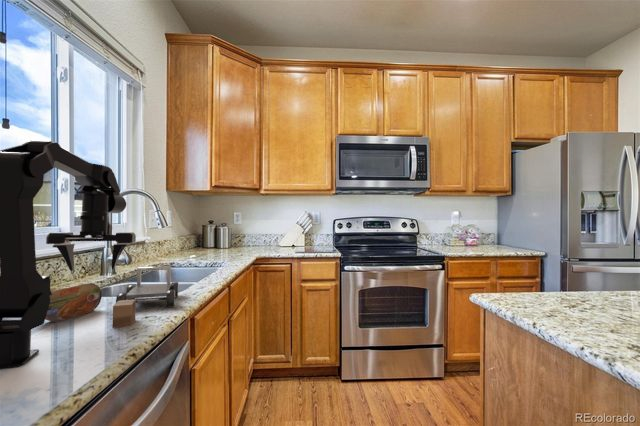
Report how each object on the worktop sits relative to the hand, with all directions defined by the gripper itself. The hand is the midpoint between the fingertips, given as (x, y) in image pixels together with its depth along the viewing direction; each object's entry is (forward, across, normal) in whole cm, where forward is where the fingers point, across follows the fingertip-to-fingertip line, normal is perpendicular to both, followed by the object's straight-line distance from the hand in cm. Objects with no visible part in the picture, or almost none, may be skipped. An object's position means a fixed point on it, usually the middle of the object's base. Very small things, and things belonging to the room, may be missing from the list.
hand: (92, 270), depth 82 cm
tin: (+13, +6, -5) cm, 15 cm away
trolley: (+13, -12, -12) cm, 22 cm away
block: (+13, -9, +7) cm, 17 cm away
